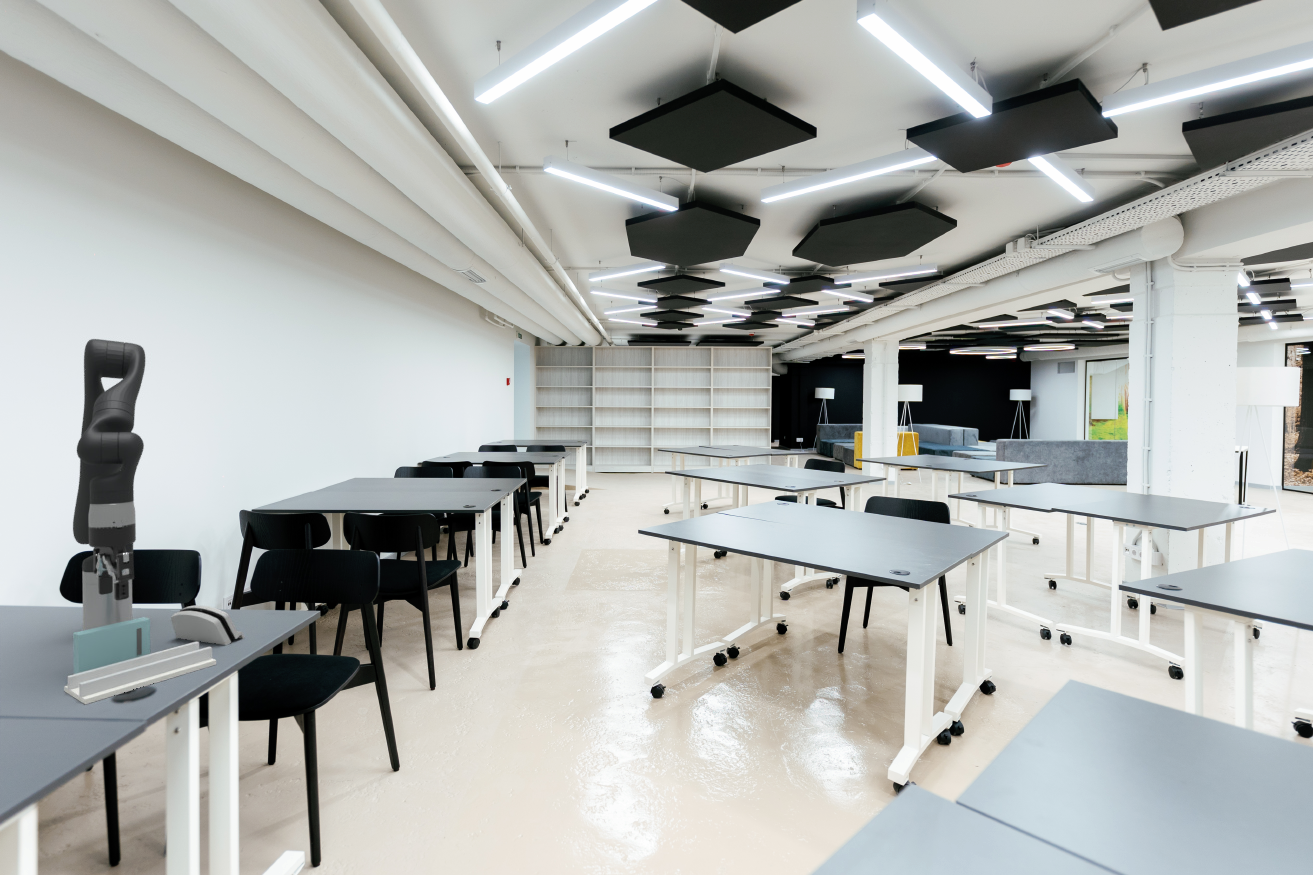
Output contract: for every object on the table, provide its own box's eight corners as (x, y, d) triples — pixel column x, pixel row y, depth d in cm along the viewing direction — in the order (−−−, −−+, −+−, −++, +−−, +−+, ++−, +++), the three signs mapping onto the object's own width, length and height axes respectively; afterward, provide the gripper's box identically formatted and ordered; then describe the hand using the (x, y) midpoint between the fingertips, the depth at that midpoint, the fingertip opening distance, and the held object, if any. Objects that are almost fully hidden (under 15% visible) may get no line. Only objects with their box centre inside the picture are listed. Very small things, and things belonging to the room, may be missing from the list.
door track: (64, 691, 118) (64, 674, 118) (193, 654, 137) (193, 639, 137) (85, 704, 112) (85, 686, 112) (216, 664, 132) (216, 649, 132)
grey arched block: (246, 637, 148) (233, 605, 144) (229, 650, 144) (215, 617, 140) (196, 631, 152) (182, 599, 149) (178, 643, 148) (163, 610, 145)
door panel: (73, 679, 123) (73, 632, 123) (144, 659, 134) (144, 616, 134) (79, 682, 122) (78, 635, 122) (150, 662, 132) (150, 619, 132)
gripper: (76, 522, 128) (78, 596, 128) (103, 528, 121) (104, 605, 121) (121, 518, 134) (122, 588, 134) (148, 523, 127) (149, 596, 127)
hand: (113, 596), depth 128 cm, fingers open, 8 cm apart
